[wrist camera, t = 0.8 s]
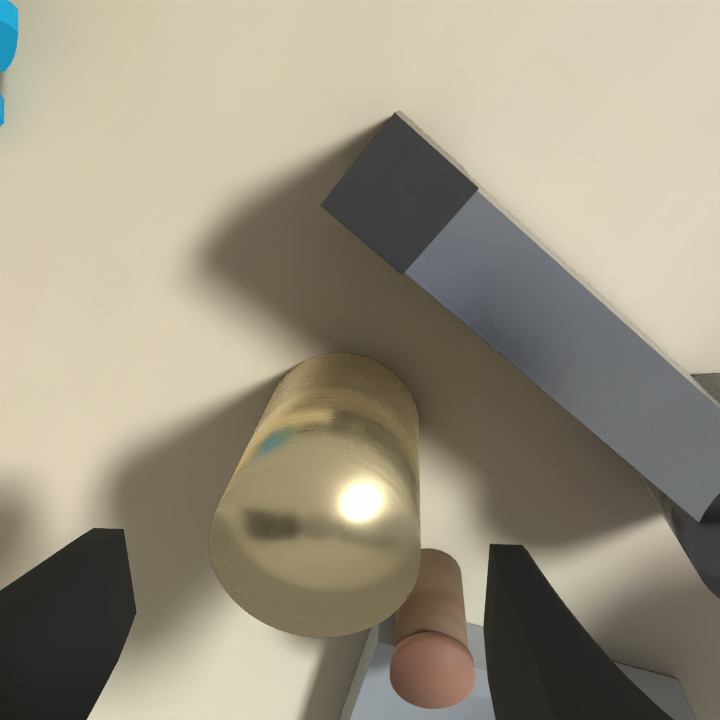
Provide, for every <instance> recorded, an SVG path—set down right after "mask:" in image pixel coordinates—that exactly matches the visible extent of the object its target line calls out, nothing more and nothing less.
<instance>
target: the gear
mask: <svg viewBox="0 0 720 720" xmlns="http://www.w3.org/2000/svg"><path fill="white" fill-rule="evenodd" d="M17 38H18V8H17V7H15V6H14V5H13V4H12V3H11V2H9V1H7V0H0V71H5V70H6V69H7V68H8V67H9V65H10V64H11V62H12V60H13V58H14V55H15V51H16V47H17ZM3 123H4V99H3V97H2V95H1V93H0V126H1V125H2V124H3Z"/></svg>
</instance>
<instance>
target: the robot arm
mask: <svg viewBox="0 0 720 720" xmlns="http://www.w3.org/2000/svg"><path fill="white" fill-rule="evenodd" d="M135 615H136V606H135V600H134V593H133V587H132V581H131V574H130V568H129V561H128V555H127V548H126V542H125V535H124V529H105V528H93V529H92V530H90V531H88V532H87V533H85V534H83V535H82V536H80V537H79V538H77V539H76V540H74V541H73V542H71V543H70V544H68V545H67V546H65V547H64V548H62V549H61V550H59V551H58V552H56V553H55V554H54V555H52V556H51V557H49V558H48V559H46V560H45V561H43V562H42V563H41V564H39V565H38V566H36V567H35V568H33V569H32V570H30V571H29V572H27V573H26V574H24V575H23V576H21V577H20V578H18V579H17V580H15V581H14V582H12V583H11V584H10V585H8V586H7V587H5V588H4V589H2V590H0V720H87V718H88V716H89V714H90V712H91V711H92V709H93V707H94V705H95V703H96V701H97V700H98V698H99V696H100V694H101V692H102V690H103V688H104V686H105V684H106V683H107V681H108V679H109V677H110V675H111V673H112V671H113V669H114V667H115V665H116V663H117V661H118V659H119V657H120V654H121V652H122V649H123V647H124V644H125V642H126V639H127V637H128V634H129V631H130V628H131V626H132V623H133V620H134V617H135ZM483 631H484V643H485V655H486V666H487V677H488V684H489V689H490V694H491V699H492V704H493V709H494V714H495V719H496V720H674V719H672V718H671V717H670V716H669V715H668V714H667V713H666V712H664V711H663V710H662V709H661V708H660V707H659V706H658V705H656V704H655V703H654V702H653V701H652V700H651V699H650V698H649V697H648V696H647V695H646V694H645V693H644V692H643V691H642V690H641V689H639V688H638V687H637V686H636V685H635V684H634V683H633V682H632V681H631V680H630V679H629V678H628V677H627V676H626V675H625V674H624V673H623V672H622V671H621V669H620V668H619V667H618V666H617V665H616V664H615V663H614V662H613V661H612V660H611V659H610V658H609V656H608V655H607V654H606V653H605V652H604V651H603V650H602V649H601V648H600V646H599V645H598V644H597V643H596V642H595V641H594V640H593V638H592V637H591V636H590V635H589V634H588V632H587V631H586V630H585V629H584V628H583V626H582V625H581V624H580V623H579V621H578V620H577V619H576V618H575V616H574V615H573V614H572V613H571V611H570V610H569V609H568V608H567V606H566V605H565V604H564V602H563V601H562V600H561V598H560V597H559V596H558V594H557V593H556V592H555V590H554V589H553V588H552V586H551V585H550V583H549V582H548V581H547V579H546V578H545V576H544V575H543V573H542V572H541V570H540V569H539V568H538V566H537V565H536V563H535V562H534V560H533V558H532V557H531V555H530V554H529V552H528V551H527V550H526V549H525V548H524V546H523V545H505V544H490V549H489V562H488V575H487V588H486V601H485V614H484V627H483Z"/></svg>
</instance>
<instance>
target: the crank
mask: <svg viewBox="0 0 720 720" xmlns="http://www.w3.org/2000/svg"><path fill="white" fill-rule="evenodd" d="M321 207H323V208H324V209H325V210H326V211H327V212H329V213H330V214H331V215H332V216H333V217H334V218H336V219H337V220H338V221H339V222H340V223H342V224H343V225H344V226H345V227H346V228H347V229H349V230H350V231H351V232H352V233H353V234H355V235H356V236H357V237H358V238H359V239H360V240H362V241H363V242H364V243H365V244H366V245H368V246H369V247H370V248H371V249H372V250H373V251H375V252H376V253H377V254H378V255H379V256H381V257H382V258H383V259H384V260H385V261H386V262H388V263H389V264H390V265H391V266H392V267H394V268H395V269H396V270H397V271H398V272H399V273H401V274H402V275H403V274H404V273H405V274H407V275H408V276H409V277H410V278H411V279H412V280H414V281H415V282H416V283H417V284H418V285H420V286H421V287H422V288H423V289H424V290H425V291H427V292H428V293H429V294H430V295H431V296H433V297H434V298H435V299H436V300H437V301H438V302H440V303H441V304H442V305H443V306H444V307H445V308H447V309H448V310H449V311H450V312H451V313H453V314H454V315H455V316H456V317H457V318H458V319H460V320H461V321H462V322H463V323H464V324H466V325H467V326H468V327H469V328H470V329H471V330H473V331H474V332H475V333H476V334H477V335H479V336H480V337H481V338H482V339H483V340H484V341H486V342H487V343H488V344H489V345H490V346H491V347H493V348H494V349H495V350H496V351H497V352H499V353H500V354H501V355H502V356H503V357H504V358H506V359H507V360H508V361H509V362H510V363H512V364H513V365H514V366H515V367H516V368H517V369H519V370H520V371H521V372H522V373H523V374H524V375H526V376H527V377H528V378H529V379H530V380H532V381H533V382H534V383H535V384H536V385H537V386H539V387H540V388H541V389H542V390H543V391H545V392H546V393H547V394H548V395H549V396H550V397H552V398H553V399H554V400H555V401H556V402H557V403H559V404H560V405H561V406H562V407H563V408H565V409H566V410H567V411H568V412H569V413H570V414H572V415H573V416H574V417H575V418H576V419H578V420H579V421H580V422H581V423H582V424H583V425H585V426H586V427H587V428H588V429H589V430H590V431H592V432H593V433H594V434H595V435H596V436H598V437H599V438H600V439H601V440H602V441H603V442H605V443H606V444H607V445H608V446H609V447H611V448H612V449H613V450H614V451H615V452H616V453H618V454H619V455H620V456H621V457H622V458H624V459H625V460H626V461H627V462H628V463H629V464H631V465H632V466H633V467H634V468H635V469H636V471H637V473H638V475H639V477H640V478H641V480H642V482H643V483H644V485H645V487H646V488H647V490H648V492H649V493H650V495H651V496H652V498H653V500H654V501H655V503H656V505H657V506H658V508H659V510H660V511H661V513H662V515H663V516H664V518H665V520H666V521H667V523H668V525H669V526H670V528H671V529H672V531H673V533H674V534H675V536H676V538H677V539H678V541H679V543H680V544H681V546H682V548H683V549H684V551H685V553H686V554H687V556H688V558H689V559H690V561H691V562H692V564H693V566H694V567H695V569H696V571H697V572H698V574H699V576H700V577H701V579H702V581H703V582H704V583H705V585H706V586H707V587H708V589H709V590H710V591H711V592H713V593H714V594H715V595H716V596H717V597H718V598H720V373H710V374H702V375H697V376H693V377H692V376H691V375H690V374H688V373H687V372H686V371H685V370H684V369H683V368H682V367H681V366H680V365H678V364H677V363H676V362H675V361H674V360H673V359H672V358H671V357H670V356H669V355H667V354H666V353H665V352H664V351H663V350H662V349H661V348H660V347H659V346H657V345H656V344H655V343H654V342H653V341H652V340H651V339H650V338H649V337H647V336H646V335H645V334H644V333H643V332H642V331H641V330H640V329H639V328H637V327H636V326H635V325H634V324H633V323H632V322H631V321H630V320H629V319H627V318H626V317H625V316H624V315H623V314H622V313H621V312H620V311H619V310H617V309H616V308H615V307H614V306H613V305H612V304H611V303H610V302H609V301H607V300H606V299H605V298H604V297H603V296H602V295H601V294H600V293H599V292H598V291H596V290H595V289H594V288H593V287H592V286H591V285H590V284H589V283H588V282H586V281H585V280H584V279H583V278H582V277H581V276H580V275H579V274H578V273H576V272H575V271H574V270H573V269H572V268H571V267H570V266H569V265H568V264H566V263H565V262H564V261H563V260H562V259H561V258H560V257H559V256H558V255H556V254H555V253H554V252H553V251H552V250H551V249H550V248H549V247H548V246H546V245H545V244H544V243H543V242H542V241H541V240H540V239H539V238H538V237H537V236H535V235H534V234H533V233H532V232H531V231H530V230H529V229H528V228H527V227H525V226H524V225H523V224H522V223H521V222H520V221H519V220H518V219H517V218H515V217H514V216H513V215H512V214H511V213H510V212H509V211H508V210H507V209H505V208H504V207H503V206H502V205H501V204H500V203H499V202H498V201H497V200H495V199H494V198H493V197H492V196H491V195H490V194H489V193H488V192H487V191H485V190H484V189H483V188H482V187H481V186H480V185H479V184H478V183H477V182H475V181H474V180H473V179H472V178H471V177H470V176H469V175H468V173H467V172H466V171H465V170H464V168H463V167H462V166H461V165H460V164H459V163H458V162H457V161H455V160H454V159H453V158H452V157H451V156H450V155H449V154H448V153H447V152H446V151H444V150H443V149H442V148H441V147H440V146H439V145H438V144H437V143H436V142H434V141H433V140H432V139H431V138H430V137H429V136H428V135H427V134H426V133H424V132H423V131H422V130H421V129H420V128H419V127H418V126H417V125H416V124H414V123H413V122H412V121H411V120H410V119H409V118H408V117H407V116H406V115H405V114H403V113H402V112H401V111H397V112H395V113H394V114H393V115H392V117H391V118H390V119H389V120H388V122H387V123H386V124H385V125H384V127H383V128H382V129H381V130H380V132H379V133H378V134H377V135H376V137H375V138H374V139H373V140H372V142H371V143H370V144H369V145H368V147H367V148H366V149H365V150H364V152H363V153H362V154H361V155H360V157H359V158H358V159H357V160H356V162H355V163H354V164H353V166H352V167H351V168H350V169H349V171H348V172H347V173H346V174H345V176H344V177H343V178H342V179H341V181H340V182H339V183H338V184H337V186H336V187H335V188H334V189H333V191H332V192H331V193H330V194H329V196H328V197H327V198H326V199H325V201H324V202H323V203H322V204H321Z"/></svg>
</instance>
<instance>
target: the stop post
mask: <svg viewBox="0 0 720 720" xmlns="http://www.w3.org/2000/svg"><path fill="white" fill-rule="evenodd" d="M390 682H391V685H392V687H393V689H394V690H395V692H396V693H397V694H398V695H399V696H400V697H401V698H402V699H403V700H405V701H406V702H408V703H410V704H412V705H414V706H417V707H421V708H426V709H442V708H447V707H451V706H453V705H456V704H458V703H459V702H461V701H463V700H464V699H465V698H466V697H467V696H468V695H469V694H470V692H471V691H472V689H473V687H474V684H475V669H474V661H473V657H472V655H471V653H470V651H469V648H468V638H467V628H466V618H465V608H464V598H463V588H462V578H461V570H460V567H459V565H458V563H457V562H456V561H455V560H454V559H453V558H452V557H451V556H450V555H448V554H447V553H445V552H442V551H439V550H435V549H422V550H421V560H420V569H419V573H418V577H417V580H416V583H415V585H414V587H413V589H412V591H411V593H410V594H409V596H408V598H407V599H406V601H405V602H404V603H403V604H402V605H401V606H400V607H399V609H398V610H397V611H396V619H395V646H394V650H393V653H392V655H391V659H390Z"/></svg>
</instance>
